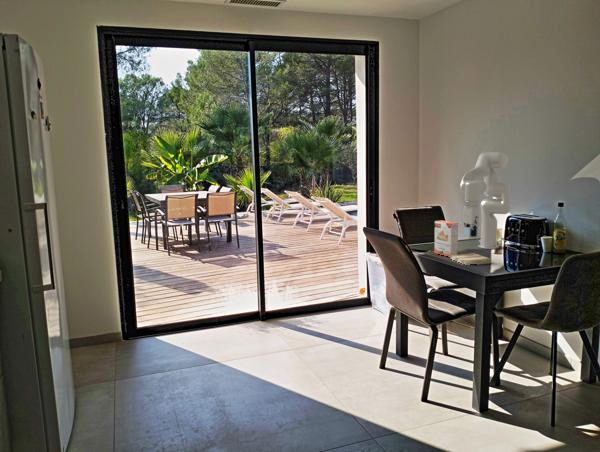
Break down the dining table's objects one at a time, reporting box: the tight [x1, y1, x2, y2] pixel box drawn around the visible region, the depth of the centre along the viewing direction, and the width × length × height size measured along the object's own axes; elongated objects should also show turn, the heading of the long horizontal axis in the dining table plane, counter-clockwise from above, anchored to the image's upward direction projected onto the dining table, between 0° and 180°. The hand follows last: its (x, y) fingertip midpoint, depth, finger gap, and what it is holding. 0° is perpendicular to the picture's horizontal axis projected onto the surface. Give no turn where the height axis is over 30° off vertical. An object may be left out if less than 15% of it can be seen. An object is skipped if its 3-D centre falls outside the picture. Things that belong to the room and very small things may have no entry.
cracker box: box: [433, 219, 459, 258], centre depth 292 cm, size 14×6×21 cm, turn 27°
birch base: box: [449, 252, 492, 266], centre depth 277 cm, size 16×16×2 cm
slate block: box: [463, 226, 478, 238], centre depth 275 cm, size 5×5×5 cm
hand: (470, 235), depth 275 cm, fingers closed on slate block, 5 cm apart
